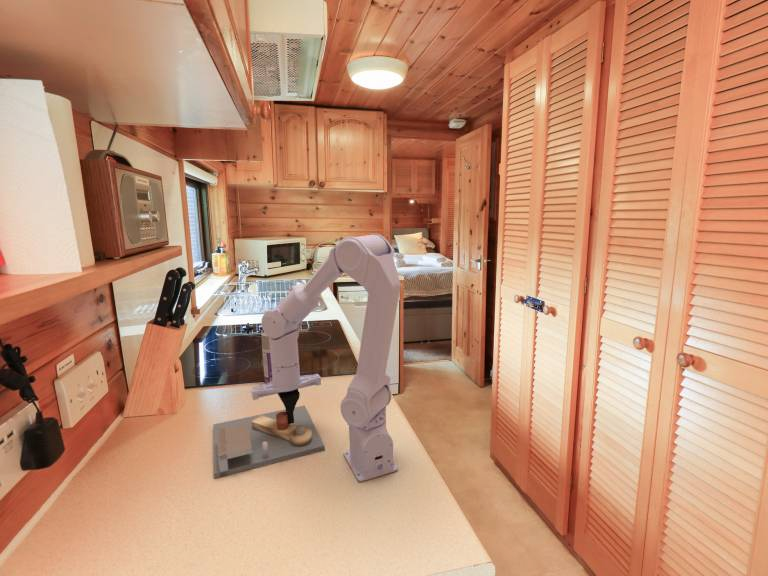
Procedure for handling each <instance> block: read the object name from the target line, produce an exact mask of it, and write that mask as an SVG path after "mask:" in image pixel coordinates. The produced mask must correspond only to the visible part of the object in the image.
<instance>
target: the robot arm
mask: <svg viewBox="0 0 768 576" xmlns="http://www.w3.org/2000/svg"><path fill="white" fill-rule="evenodd" d="M329 250H330V251H329V254H328V256H327V257H326V258H325V259H324V261H323V262H322V263H321V264H320V265H319V267H318V268H317V270H316V271H315V272H314V273H313V275H312V276H310V278H309V280H308V281H307V282H306V283H305V284H304V283H299V284H296V285H292V286H290V287H289V289H288V291H289V293H288V294H287V295H286V296H285V297H284V299H282V300H280V301H278V302H277V303H276V305H277V306H276V307H275V309H269V310H267V311H265V312H264V314H263V315H262V317H261V327H262V328H261V329H262V331H263V333H265V334H266V335H267V336H268V337H269V343H270V355H271V366H272V377H273V381H271V382H269V383H266V384H265V383H263V384H261V385H258V386H254V387H251V388H250V392H251V398H252V400H253V401H257V400H259V399H260V398H265V397H268V396H272V395H278V396H279V399H280V400H281V402H282V405H283V406H284V409H286V412H287V413H288V424H291V423H294V415H293V412H294V408H295V407H297V406H296V405H297V403H298V401H299V399H300V396H301V395H300V391H299V390H300V389H303V388H307V387H312V386H321V385H322V381H321V380H322V379H321V376H320V375H319V373H315V374H307V375H306V374H305V375H304V374H303V375H301V372H300V357H299V343H298V339H299V337H300V333H299V331H300V329H301V328H302V325H303V321H304V320H305V319H306V318H307V317H308V316H309V315H310V314H311V312H313V311H314V310H315V309H316V308H317V307H318V305H319V303H320V298H319V296H320V295H321V294H322V293H323V292H324V291H326V290H327V288H329V287H330V286H331V285H332V284H333V283H334V282H335V281H336V280H338V279H339V278H340V277H342V275H343V274H345V275H347V276H349V277H350V278H351V279H353V280H354V281H355V282H357V283H358V284H359V285H360V286H361V287H363V288H364V290H365V291H366V292H367V294H368V295H367V300H366V308H365V315H364V320H363V327H362V335H361V341H360V347H359V353H358V360H357V367H356V371H355V372H356V373H355V375H354V377H352V380H351V382H350V383H349V384H348V387H347V392H346V394H345V397H344V398H343V399H342V400H341V403H340V414H341V416H342V418H343V419H344V421H345V422H346V423H347V425H348V437H349V450H345V451H344V452H343V456H344V457H345V460H346V461H347V463H348V465H349V467H350V469H351V471H352V472H353V474H354V476H355V479H356V480H357V481H358V482H360V483H361V482H363V481H368V480H371V479H374V478H377V477H381V476H384V475H387V474H390V473H391V474H392V473H394V472H397V471H398V470H399V467H398V465H397V464H396V463H395V462H394V441H393V438H392V437H391V435H390V434H389V431H388V429H387V407H388V406H389V405H390V403H391V401H392V398H393V397H392V390H391V385H390V383H391V377H390V376H389V375H388V374H387V373H386V372H387V366H388V360H389V354H390V349H391V344H392V337H393V332H394V327H395V320H396V315H397V308H398V305H399V297H400V294H401V293H400V291H401V280H400V277H399V274H398V269H397V267H396V262H395V259H394V257H395V251H396V250H395V248H394V247H393V246H392V245H391V243H390V242H389V241H388V240H387V238H385V236H383V235H381V234H379V233H371V234H368V235H360V236H359V235H358V236H347V237H344V238H341V240H339V242H338V243H337V245H335V246H334V247H333V248H331V249H329Z"/></svg>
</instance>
